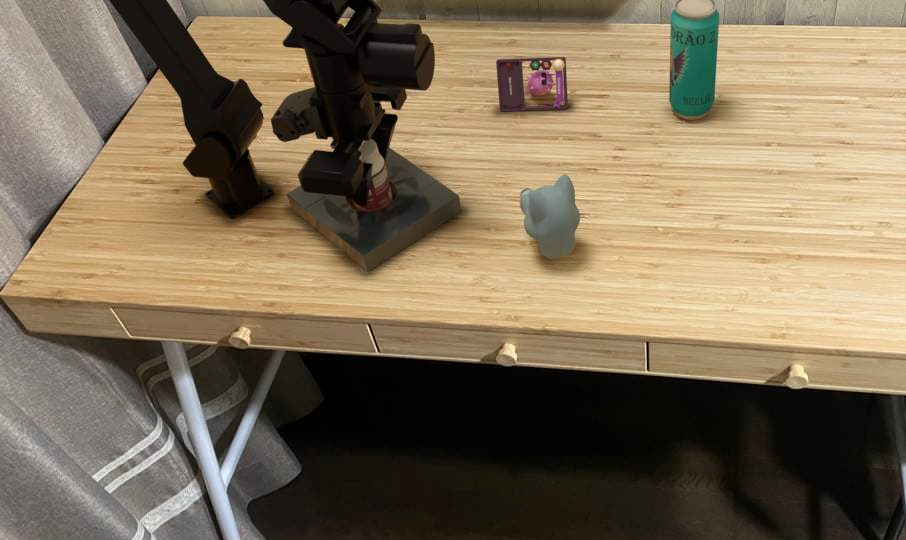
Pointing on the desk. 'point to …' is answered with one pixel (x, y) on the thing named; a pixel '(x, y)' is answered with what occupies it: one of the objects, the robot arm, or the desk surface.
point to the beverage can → (693, 57)
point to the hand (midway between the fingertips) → (369, 190)
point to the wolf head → (551, 217)
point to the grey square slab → (380, 214)
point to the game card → (530, 82)
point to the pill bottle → (375, 179)
